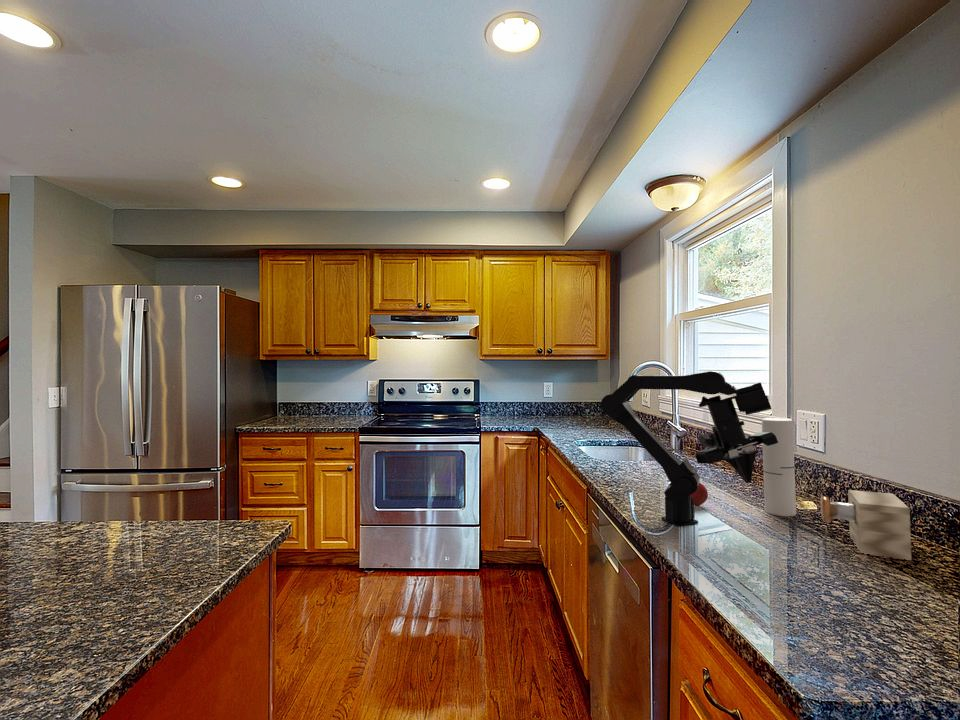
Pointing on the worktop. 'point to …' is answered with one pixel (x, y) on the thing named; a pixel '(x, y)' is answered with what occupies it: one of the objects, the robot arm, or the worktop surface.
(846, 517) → the peg
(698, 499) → the onion
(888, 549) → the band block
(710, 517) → the worktop surface
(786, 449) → the cylindrical container
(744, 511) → the worktop surface
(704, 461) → the robot arm
